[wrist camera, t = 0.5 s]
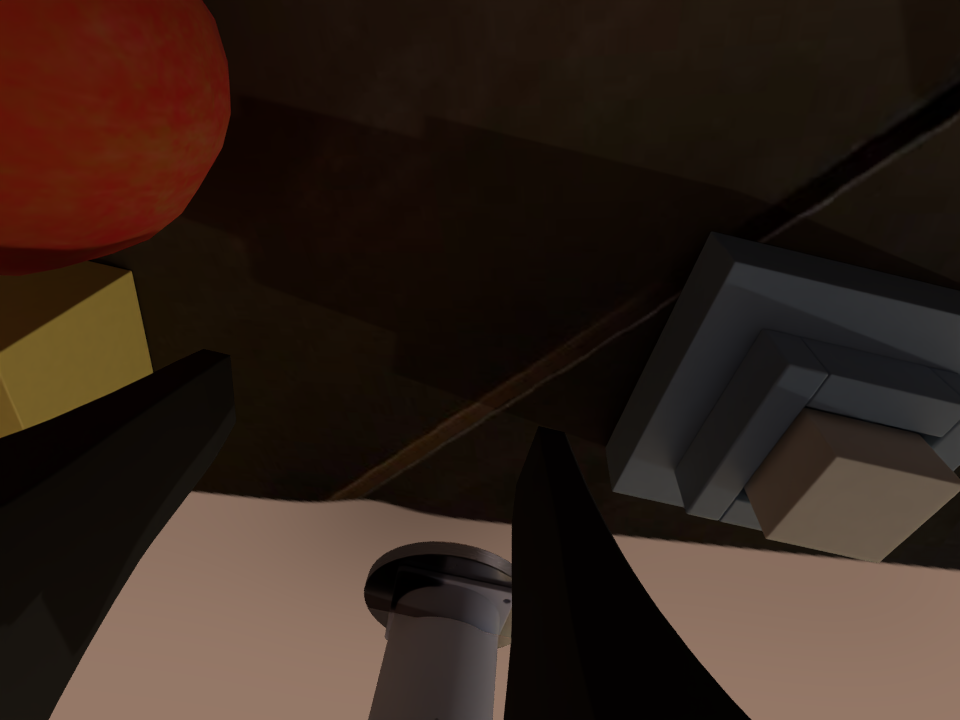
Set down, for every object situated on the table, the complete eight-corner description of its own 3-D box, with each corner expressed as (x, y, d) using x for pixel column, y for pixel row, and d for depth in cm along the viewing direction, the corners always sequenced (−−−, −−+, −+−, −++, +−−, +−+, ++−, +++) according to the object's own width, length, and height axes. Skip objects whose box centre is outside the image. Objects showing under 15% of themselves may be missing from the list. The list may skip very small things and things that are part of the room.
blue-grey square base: (823, 496, 22) (879, 591, 19) (605, 447, 22) (617, 534, 18) (1002, 300, 17) (1133, 381, 13) (710, 230, 16) (760, 293, 13)
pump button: (845, 509, 17) (878, 563, 15) (742, 486, 17) (765, 539, 15) (918, 433, 15) (967, 486, 13) (803, 406, 15) (837, 456, 13)
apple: (371, 20, 14) (78, 25, 5) (241, 236, 18) (-47, 448, 9) (61, -278, 11) (-1633, -1322, 3) (-10, 52, 15) (-753, 101, 7)
